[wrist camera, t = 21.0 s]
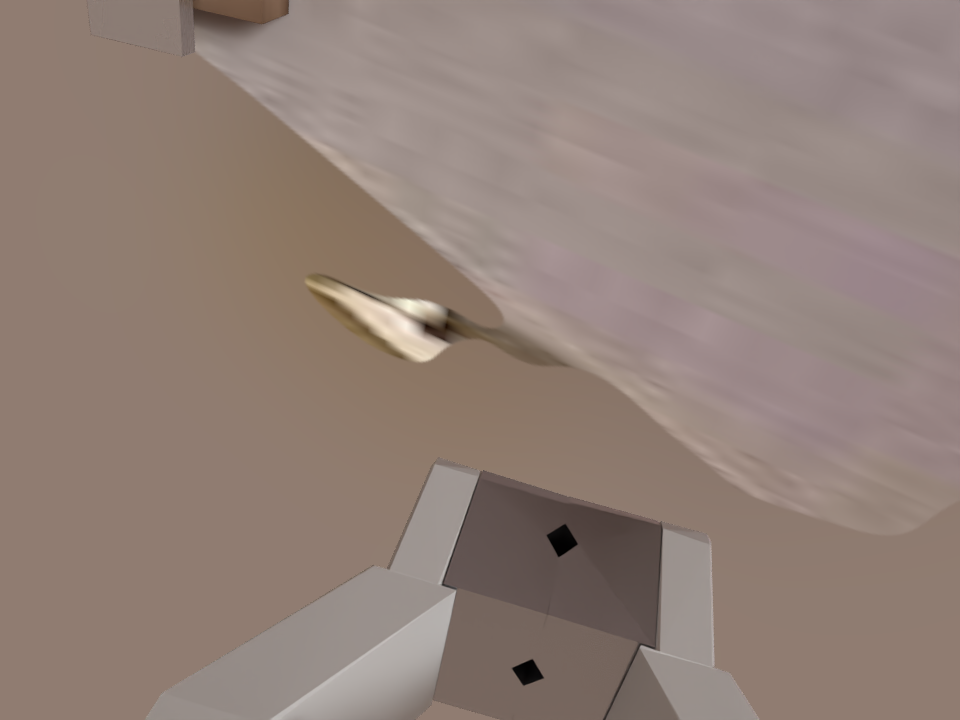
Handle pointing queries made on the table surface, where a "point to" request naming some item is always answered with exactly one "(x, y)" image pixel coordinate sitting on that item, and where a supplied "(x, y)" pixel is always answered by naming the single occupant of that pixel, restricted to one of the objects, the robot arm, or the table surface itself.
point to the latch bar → (145, 23)
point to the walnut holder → (245, 9)
